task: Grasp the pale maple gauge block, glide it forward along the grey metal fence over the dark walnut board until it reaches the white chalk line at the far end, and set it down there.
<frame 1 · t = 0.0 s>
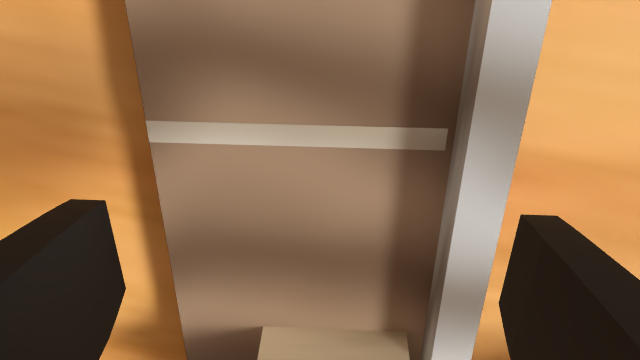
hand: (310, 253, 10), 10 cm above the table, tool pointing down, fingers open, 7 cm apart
marking board: (324, 249, 22), on the table
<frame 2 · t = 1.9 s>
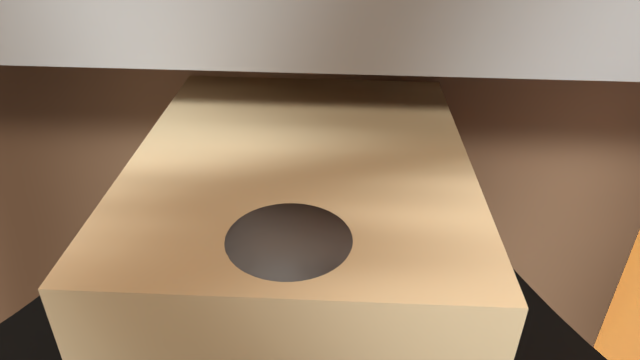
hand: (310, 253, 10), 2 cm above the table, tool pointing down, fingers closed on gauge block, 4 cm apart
marking board: (89, 199, 12), on the table
gauge block: (312, 229, 10), point 1 cm above the table, touching gripper, marking board
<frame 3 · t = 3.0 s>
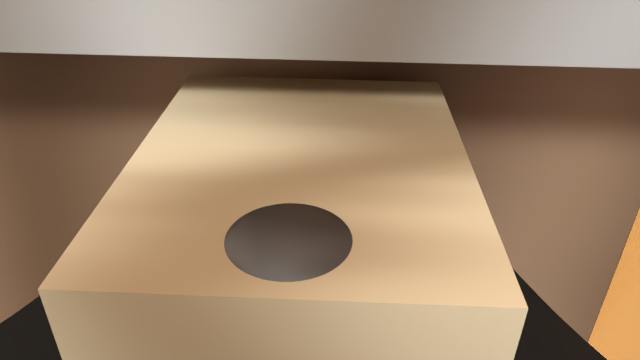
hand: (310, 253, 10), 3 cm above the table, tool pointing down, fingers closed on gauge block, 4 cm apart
marking board: (106, 187, 12), on the table
gauge block: (312, 229, 10), point 2 cm above the table, touching gripper
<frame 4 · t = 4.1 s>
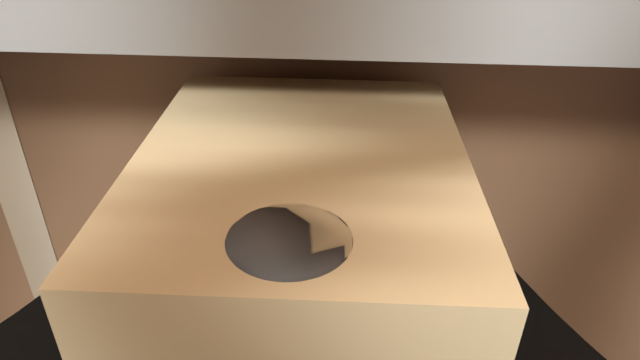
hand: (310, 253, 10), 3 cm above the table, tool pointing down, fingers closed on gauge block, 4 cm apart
marking board: (321, 194, 12), on the table
gauge block: (312, 229, 10), point 2 cm above the table, touching gripper
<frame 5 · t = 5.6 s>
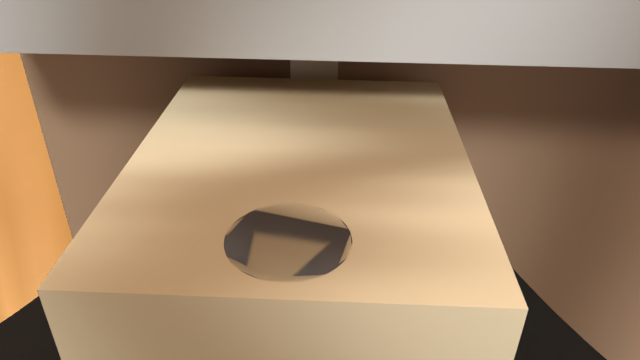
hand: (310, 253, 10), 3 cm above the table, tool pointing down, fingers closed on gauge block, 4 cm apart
marking board: (586, 204, 12), on the table
gauge block: (312, 230, 10), point 2 cm above the table, touching gripper
when the fingers open (2 cm above the table, at t = 6.6 s): gauge block stays where it is, resting on marking board.
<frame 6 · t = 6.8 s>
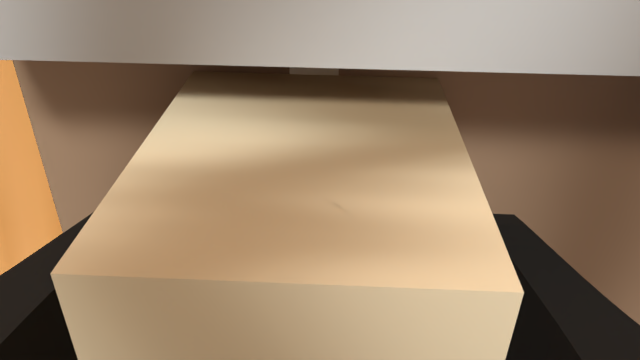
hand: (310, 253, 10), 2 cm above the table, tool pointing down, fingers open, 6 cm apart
marking board: (592, 211, 12), on the table
gauge block: (313, 224, 10), point 2 cm above the table, touching marking board
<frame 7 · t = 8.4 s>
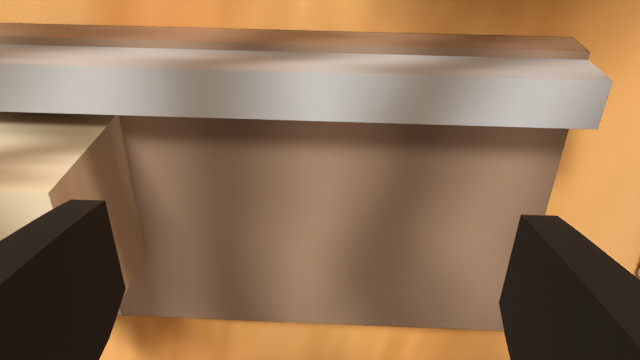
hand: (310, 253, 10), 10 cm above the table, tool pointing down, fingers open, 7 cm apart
marking board: (249, 182, 21), on the table
gauge block: (79, 186, 20), point 2 cm above the table, touching marking board
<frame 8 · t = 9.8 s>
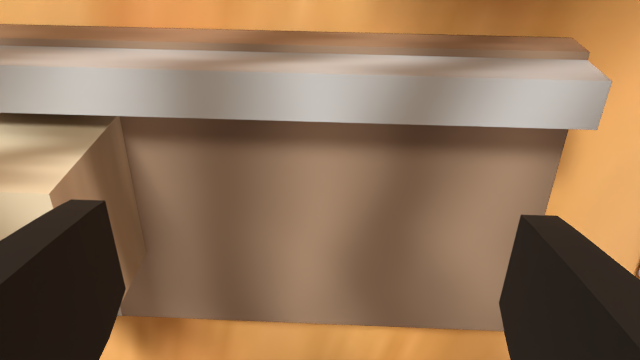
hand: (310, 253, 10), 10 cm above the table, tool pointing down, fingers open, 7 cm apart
marking board: (249, 182, 21), on the table
gauge block: (79, 187, 20), point 2 cm above the table, touching marking board
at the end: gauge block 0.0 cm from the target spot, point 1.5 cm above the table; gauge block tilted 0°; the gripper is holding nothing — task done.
